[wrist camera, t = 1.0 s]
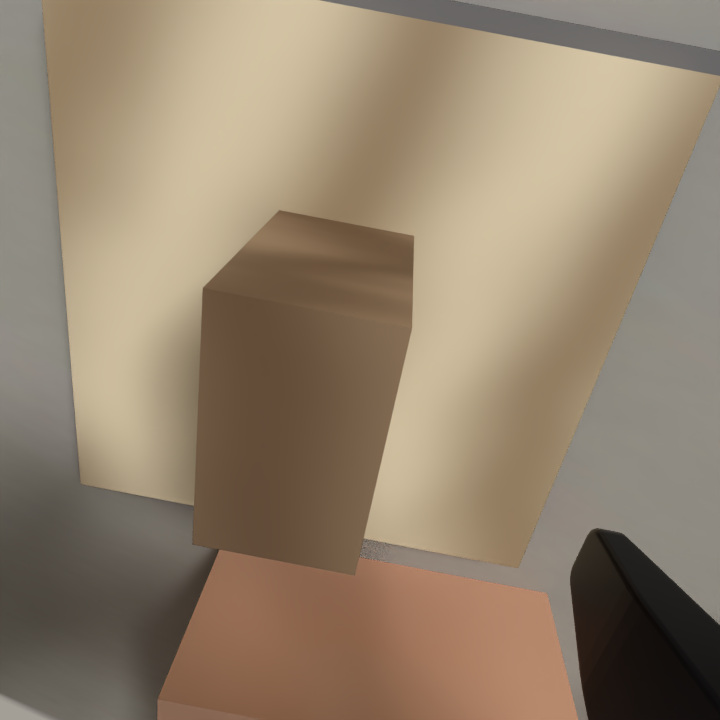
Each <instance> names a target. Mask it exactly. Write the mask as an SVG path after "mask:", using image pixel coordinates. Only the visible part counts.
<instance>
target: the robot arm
mask: <svg viewBox="0 0 720 720" xmlns="http://www.w3.org/2000/svg"><path fill="white" fill-rule="evenodd" d="M570 586H571V595H572V604H573V614H574V623H575V632H576V641H577V651H578V660H579V669H580V677H581V684H582V690H583V696H584V701H585V706H586V711H587V715H588V720H720V625H719V624H718V623H717V622H716V621H715V620H714V619H713V618H712V617H711V616H710V615H708V614H707V613H706V612H705V611H704V610H703V609H702V608H701V607H700V606H699V605H698V604H697V603H696V602H695V601H694V600H693V599H692V598H691V597H689V596H688V595H687V594H686V593H685V592H684V591H683V590H682V589H681V588H680V587H679V586H678V585H677V584H676V583H675V582H674V581H673V580H672V579H670V578H669V577H668V576H667V575H666V574H665V573H664V572H663V571H662V570H661V569H660V568H659V567H658V566H657V565H656V564H655V563H654V562H653V561H651V560H650V559H649V558H648V557H647V556H646V555H645V554H644V553H643V552H642V551H641V550H640V549H639V548H638V547H637V546H636V545H635V544H634V543H632V542H631V541H630V540H629V539H628V538H627V537H626V536H625V535H624V534H622V533H619V532H615V531H610V530H604V529H599V528H596V529H593V530H591V531H590V532H589V534H588V535H587V537H586V539H585V542H584V544H583V546H582V548H581V550H580V552H579V554H578V556H577V558H576V560H575V562H574V565H573V567H572V570H571V576H570Z"/></svg>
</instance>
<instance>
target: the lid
mask: <svg viewBox="0 0 720 720" xmlns="http://www.w3.org/2000/svg"><path fill="white" fill-rule="evenodd" d="M42 9H43V21H44V33H45V46H46V58H47V71H48V83H49V96H50V108H51V120H52V133H53V145H54V158H55V170H56V183H57V195H58V207H59V220H60V232H61V245H62V257H63V270H64V282H65V295H66V307H67V319H68V332H69V344H70V357H71V369H72V382H73V394H74V406H75V419H76V431H77V444H78V456H79V469H80V481H81V484H83V485H88V486H93V487H99V488H104V489H109V490H114V491H119V492H125V493H130V494H135V495H140V496H145V497H151V498H156V499H161V500H166V501H171V502H177V503H182V504H187V505H192V506H194V518H193V543H192V544H193V545H198V546H203V547H208V548H214V549H219V550H224V551H229V552H234V553H240V554H245V555H250V556H255V557H260V558H266V559H271V560H276V561H281V562H286V563H291V564H297V565H302V566H307V567H312V568H317V569H323V570H328V571H333V572H338V573H343V574H349V575H354V576H355V573H356V569H357V565H358V560H359V556H360V552H361V547H362V543H363V539H369V540H374V541H379V542H384V543H390V544H395V545H400V546H405V547H410V548H416V549H421V550H426V551H431V552H436V553H442V554H447V555H452V556H457V557H462V558H468V559H473V560H478V561H483V562H488V563H494V564H499V565H504V566H509V567H514V568H518V567H519V565H520V563H521V560H522V558H523V555H524V553H525V551H526V548H527V546H528V543H529V541H530V539H531V536H532V534H533V532H534V529H535V527H536V524H537V522H538V520H539V517H540V515H541V512H542V510H543V508H544V505H545V503H546V500H547V498H548V496H549V493H550V491H551V488H552V486H553V484H554V481H555V479H556V477H557V474H558V472H559V469H560V467H561V465H562V462H563V460H564V457H565V455H566V453H567V450H568V448H569V445H570V443H571V441H572V438H573V436H574V433H575V431H576V429H577V426H578V424H579V422H580V419H581V417H582V414H583V412H584V410H585V407H586V405H587V402H588V400H589V398H590V395H591V393H592V390H593V388H594V386H595V383H596V381H597V378H598V376H599V374H600V371H601V369H602V366H603V364H604V362H605V359H606V357H607V355H608V352H609V350H610V347H611V345H612V343H613V340H614V338H615V335H616V333H617V331H618V328H619V326H620V323H621V321H622V319H623V316H624V314H625V311H626V309H627V307H628V304H629V302H630V300H631V297H632V295H633V292H634V290H635V288H636V285H637V283H638V280H639V278H640V276H641V273H642V271H643V268H644V266H645V264H646V261H647V259H648V256H649V254H650V252H651V249H652V247H653V245H654V242H655V240H656V237H657V235H658V233H659V230H660V228H661V225H662V223H663V221H664V218H665V216H666V213H667V211H668V209H669V206H670V204H671V201H672V199H673V197H674V194H675V192H676V189H677V187H678V185H679V182H680V180H681V178H682V175H683V173H684V170H685V168H686V166H687V163H688V161H689V158H690V156H691V154H692V151H693V149H694V146H695V144H696V142H697V139H698V137H699V134H700V132H701V130H702V127H703V125H704V123H705V120H706V118H707V115H708V113H709V111H710V108H711V106H712V103H713V101H714V99H715V96H716V94H717V91H718V89H719V87H720V76H717V75H712V74H707V73H701V72H696V71H691V70H686V69H680V68H675V67H670V66H664V65H659V64H654V63H649V62H643V61H638V60H633V59H627V58H622V57H617V56H611V55H606V54H601V53H596V52H590V51H585V50H580V49H574V48H569V47H564V46H559V45H553V44H548V43H543V42H537V41H532V40H527V39H522V38H516V37H511V36H506V35H500V34H495V33H490V32H485V31H479V30H474V29H469V28H463V27H458V26H453V25H447V24H442V23H437V22H432V21H426V20H421V19H416V18H410V17H405V16H400V15H395V14H389V13H384V12H379V11H373V10H368V9H363V8H358V7H352V6H347V5H342V4H336V3H331V2H326V1H321V0H42Z"/></svg>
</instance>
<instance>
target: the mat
mask: <svg viewBox="0 0 720 720" xmlns="http://www.w3.org/2000/svg"><path fill="white" fill-rule="evenodd" d="M321 1H326V2H331V3H336V4H342V5H347V6H352V7H358V8H363V9H368V10H373V11H379V12H384V13H389V14H395V15H400V16H405V17H410V18H416V19H421V20H426V21H432V22H437V23H442V24H447V25H453V26H458V27H463V28H469V29H474V30H479V31H485V32H490V33H495V34H500V35H506V36H511V37H516V38H522V39H527V40H532V41H537V42H543V43H548V44H553V45H559V46H564V47H569V48H574V49H580V50H585V51H590V52H596V53H601V54H606V55H611V56H617V57H622V58H627V59H633V60H638V61H643V62H649V63H654V64H659V65H664V66H670V67H675V68H680V69H686V70H691V71H696V72H701V73H707V74H712V75H717V76H720V51H717V50H712V49H706V48H701V47H696V46H690V45H685V44H680V43H674V42H669V41H664V40H659V39H653V38H648V37H643V36H637V35H632V34H627V33H622V32H616V31H611V30H606V29H600V28H595V27H590V26H584V25H579V24H574V23H569V22H563V21H558V20H553V19H547V18H542V17H537V16H532V15H526V14H521V13H516V12H510V11H505V10H500V9H494V8H489V7H484V6H479V5H473V4H468V3H463V2H457V1H452V0H321Z"/></svg>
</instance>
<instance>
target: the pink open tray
mask: <svg viewBox="0 0 720 720" xmlns="http://www.w3.org/2000/svg"><path fill="white" fill-rule="evenodd" d="M157 720H578V717H577V713H576V709H575V705H574V701H573V697H572V693H571V689H570V685H569V681H568V677H567V673H566V668H565V664H564V660H563V656H562V652H561V648H560V644H559V640H558V636H557V632H556V628H555V624H554V620H553V616H552V612H551V608H550V604H549V600H548V596H547V593H543V592H538V591H532V590H527V589H522V588H517V587H512V586H506V585H501V584H496V583H491V582H485V581H480V580H475V579H470V578H465V577H459V576H454V575H449V574H444V573H439V572H433V571H428V570H423V569H418V568H412V567H407V566H402V565H397V564H392V563H386V562H381V561H376V560H371V559H366V558H360V557H359V560H358V565H357V569H356V573H355V576H354V575H349V574H343V573H338V572H333V571H328V570H323V569H317V568H312V567H307V566H302V565H297V564H291V563H286V562H281V561H276V560H271V559H266V558H260V557H255V556H250V555H245V554H240V553H234V552H229V551H224V550H219V552H218V554H217V557H216V559H215V562H214V564H213V567H212V569H211V571H210V574H209V576H208V579H207V581H206V583H205V586H204V588H203V591H202V593H201V595H200V598H199V600H198V603H197V605H196V608H195V610H194V612H193V615H192V617H191V620H190V622H189V624H188V627H187V629H186V632H185V634H184V636H183V639H182V641H181V644H180V646H179V649H178V651H177V653H176V656H175V658H174V661H173V663H172V665H171V668H170V670H169V673H168V675H167V677H166V680H165V682H164V685H163V687H162V690H161V692H160V694H159V697H158V699H157Z"/></svg>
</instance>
